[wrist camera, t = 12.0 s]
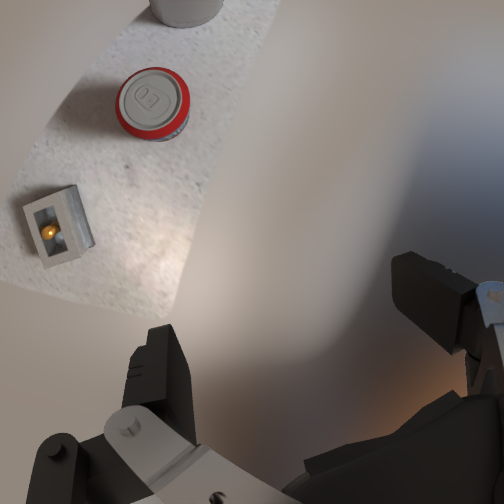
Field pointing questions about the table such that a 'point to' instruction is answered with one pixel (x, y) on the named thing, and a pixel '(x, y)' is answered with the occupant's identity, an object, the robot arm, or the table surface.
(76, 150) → the table surface
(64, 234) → the silver frame
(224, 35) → the table surface
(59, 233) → the grey peg base
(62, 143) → the table surface
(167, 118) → the beverage can
